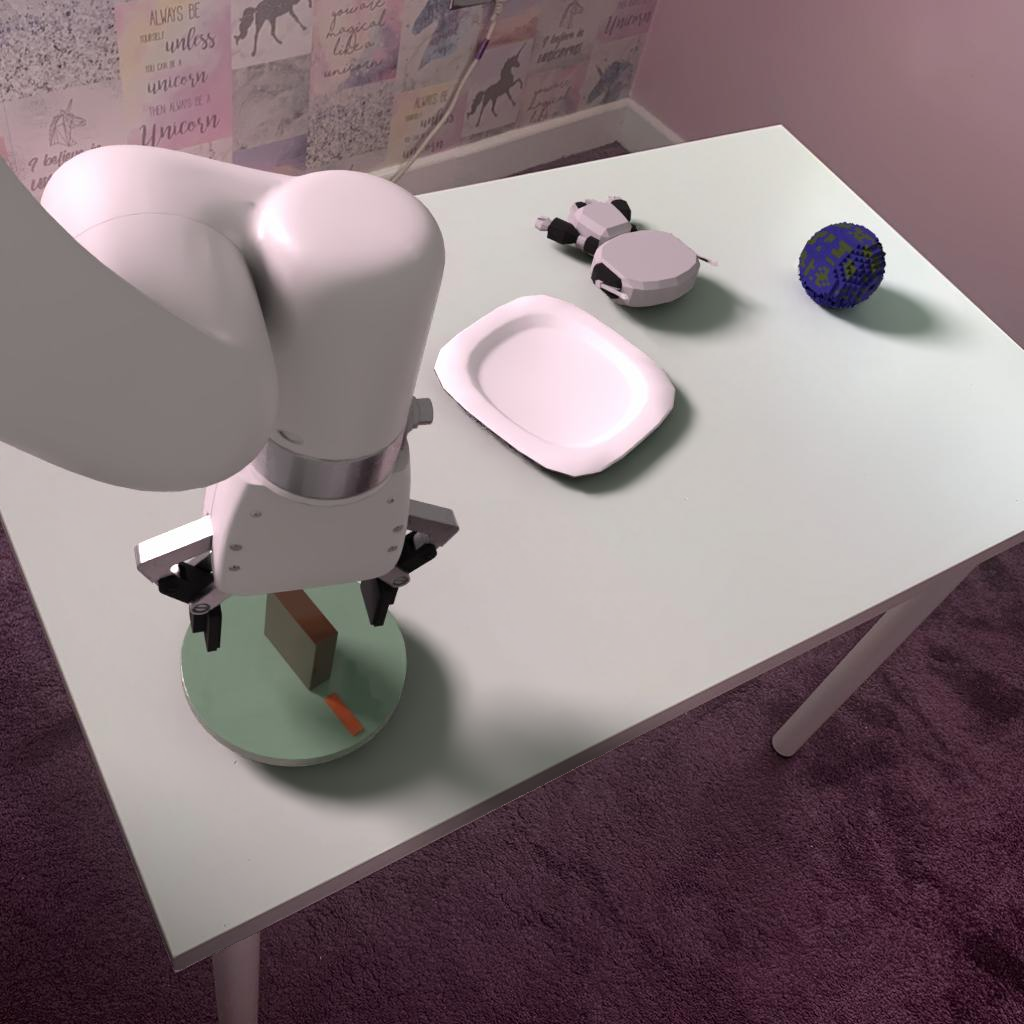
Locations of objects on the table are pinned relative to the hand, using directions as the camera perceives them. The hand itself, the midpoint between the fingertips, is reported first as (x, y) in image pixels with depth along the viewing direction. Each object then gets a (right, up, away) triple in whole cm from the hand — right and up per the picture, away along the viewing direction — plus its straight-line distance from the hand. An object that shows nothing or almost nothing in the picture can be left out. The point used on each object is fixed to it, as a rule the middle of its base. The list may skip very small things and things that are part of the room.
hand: (292, 617), depth 63 cm
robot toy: (+23, +30, +41) cm, 55 cm away
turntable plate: (-1, -3, +5) cm, 6 cm away
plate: (+17, +17, +28) cm, 37 cm away
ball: (+45, +29, +46) cm, 70 cm away
